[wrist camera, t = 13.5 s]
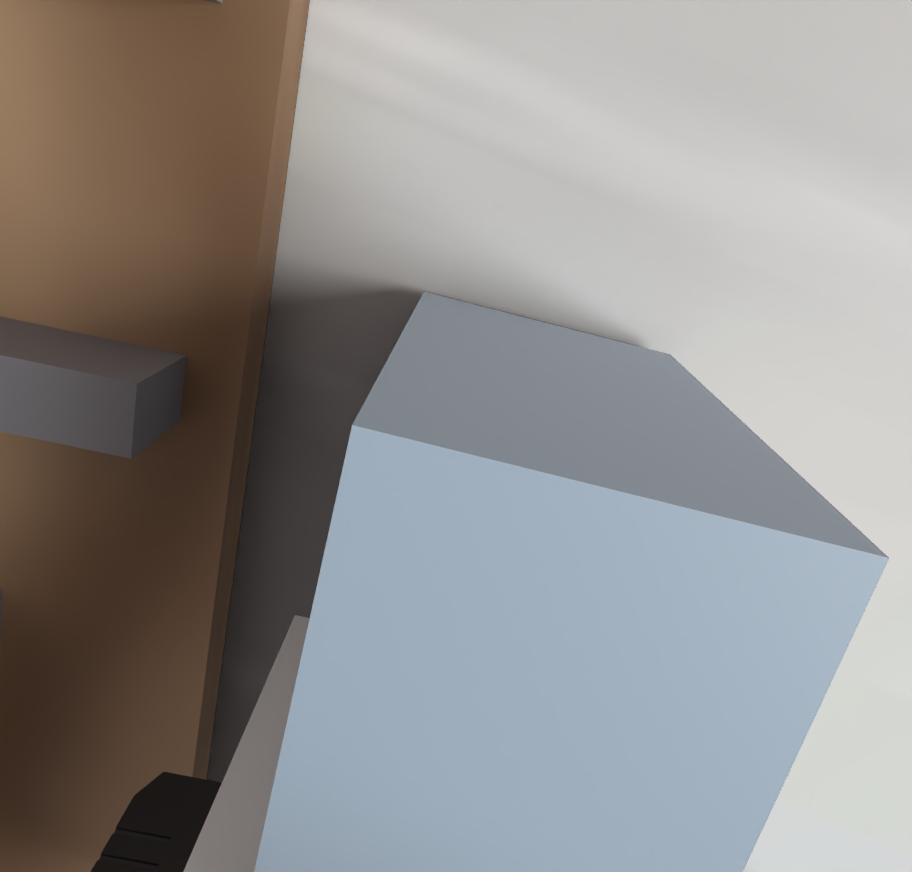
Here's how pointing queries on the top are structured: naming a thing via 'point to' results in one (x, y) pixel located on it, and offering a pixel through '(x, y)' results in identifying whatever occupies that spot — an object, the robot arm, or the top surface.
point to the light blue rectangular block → (556, 616)
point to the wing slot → (86, 388)
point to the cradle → (0, 612)
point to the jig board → (145, 324)
